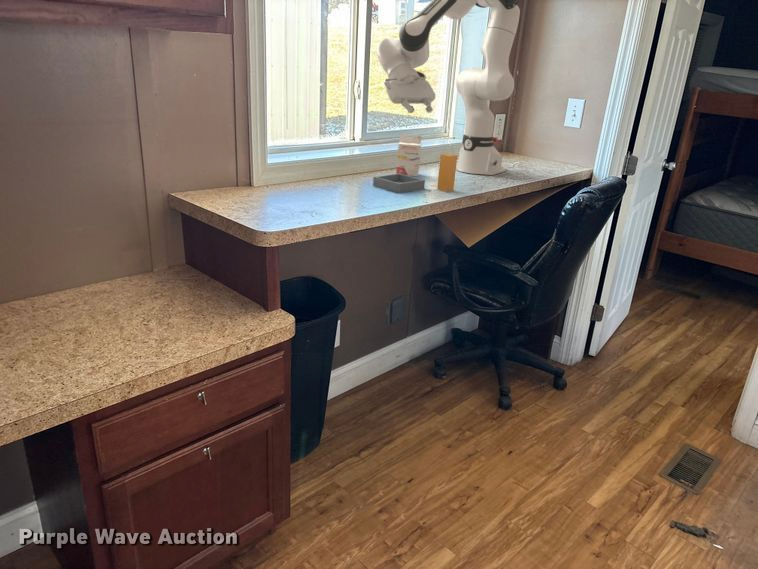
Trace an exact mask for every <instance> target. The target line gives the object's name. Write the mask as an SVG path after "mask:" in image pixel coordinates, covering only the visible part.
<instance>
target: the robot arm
mask: <svg viewBox="0 0 758 569" xmlns="http://www.w3.org/2000/svg"><path fill="white" fill-rule="evenodd" d="M519 1H520V0H431V1H430V2H429V3H428V4H427V5H426V6H425V7H424V8H423V9H422V10H421V11H420V12H419V13H417V14H416V15H414V16H413V17H410V18H409V19H407V20H405V21H404V22H403V23H402V24H401V26H400V28H399V32H398V37H399V38H398V37H392V36H386V37H385V38H383V39H382V40H381V41H380V42H379V43H378V45H377V48H376V56H377V58H378V61H379V63H380V65H381V67H382V69H383V71H384V72H385V73H386V74H387V78H385V79H384V82H383V84H384V86H385V90H386V93H387V95H388V99H389V101H390V102H392V103H393V104H394V105H395V104H401V106H402V107H403V108H404V109H406V111H407V112H408V114H411V113H412V114H413V112H415V108H414V106H413V105H411V104H416V105H417V104H419V105H420V104H421V105H424V106H425V109H424V110H425V112H426V113H427V114H428V113H432V112H433V111H434V110H433V107H432V102H434V100H435V99H436V93H435V91H434V89H433V88H432V85H431V84H430V82H429V81H427V76H426V74H425V73H424V72H421V71H418V70H416V68H418V67H422V66H423V65H424V64H426V62H428V59H429V58H430V42H429V41H430V39H429V38H430V34H431V30H432V29H433V27H434V26H435V25H436V24H437V23H438V22H439V21H441V19H442V18H444V16H446V17H447V18H449V19H451V20H461V19H462V18H464V17H465V16H467V15H468V14H469V13H470V12H471V10H472V9H473V8H474V7H475V6H476V7H479V8H481V9H483V8H490V12H491V13H490V19H489V21H488V24H487V27H486V30H485V33H484V36H483V40H482V42H481V46H480V51H481V54H482V56H483V57H484V59H485V65H484V68H476V67H475V68H474V67H473V68H468V69H464V70H462V71H460V73H459V74H458V75H457V78H456V84H455V85H456V90H457V92H458V93H459V95H460V96H461V98H462V101H463V104H464V108H465V125H464V134H463V135H462V141H461V142H462V146H461V147H460V149H459V153H458V154H459V155H458V157H457V163H456V170H457V171H459V172H462V173H466V174H471V175H472V174H474V175H486V176H487V175H488V176H494V175H498V174H500V173H504V172H507V169H508V168H507V167H505V166H502V163H503V162H502V161H503V157H502V154H501V153H500V152H499V151H498V150H497V148H495V143H498V141H499V137H496V136H493V134H494V133H493V132H494V124H495V115H494V113H493V112H492V111H491V110H490V108H489V104H488V101H492V102H497V101H504V100H507V99H509V98H510V96H512V94H513V92H514V90H515V79H514V77H513V76H512V73H511V71H510V66H509V62H510V61H509V59H510V55H511V50H512V46H513V43H514V40H515V38H516V34H517V30H518V26H519V20H520V16H521V15H520V14H521V13H520V12H521V9H520V7H519V6H518V4H519V3H520V2H519Z"/></svg>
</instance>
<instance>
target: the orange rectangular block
mask: <svg viewBox="0 0 758 569" xmlns="http://www.w3.org/2000/svg"><path fill="white" fill-rule="evenodd" d="M457 163H458V155H457V154H453V153H441V154H440V158H439V165H438V166H439V167H438V179H437V190H438V191H442V192H452V191H454V189H455V180H456V173H457V172H456V170H457V168H456V164H457Z"/></svg>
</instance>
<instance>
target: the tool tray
mask: <svg viewBox="0 0 758 569" xmlns="http://www.w3.org/2000/svg"><path fill="white" fill-rule="evenodd" d="M372 186H374V187H376V188H380V189H383V190H388V191H390V192H394V193H397V194H401V193H407V192H413V191H419V190H423V189H425V186H426V180H425V179H423V178H422V179H421V178H418V177H416V176H408V175H403V174H400V173H398V174H396V173H392V174H384V175H379V176H373V179H372Z"/></svg>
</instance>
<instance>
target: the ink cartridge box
mask: <svg viewBox="0 0 758 569" xmlns="http://www.w3.org/2000/svg"><path fill="white" fill-rule="evenodd" d="M410 138H411V139H410ZM421 141H422V135H419V134H407V133H406V134H405V133H401V134H400V136H399V143H398V148H397V158H396V159H397V160H396V170H395V171H396V172H395V174H398V173H400V174H403V175H407V176H411V177H419V172H420V163H421V162H420V160H421V151H422V142H421Z"/></svg>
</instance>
